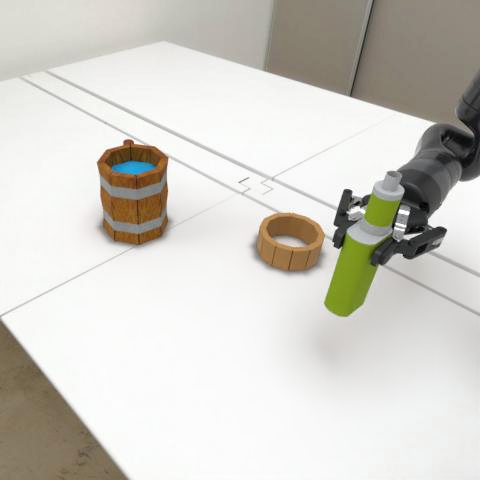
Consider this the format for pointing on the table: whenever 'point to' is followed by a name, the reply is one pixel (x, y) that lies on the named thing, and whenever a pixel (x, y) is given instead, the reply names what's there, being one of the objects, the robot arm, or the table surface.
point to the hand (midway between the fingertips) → (356, 251)
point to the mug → (134, 192)
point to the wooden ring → (288, 255)
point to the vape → (363, 248)
